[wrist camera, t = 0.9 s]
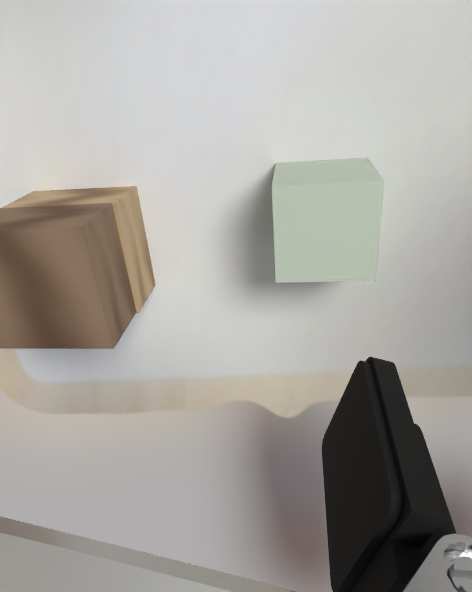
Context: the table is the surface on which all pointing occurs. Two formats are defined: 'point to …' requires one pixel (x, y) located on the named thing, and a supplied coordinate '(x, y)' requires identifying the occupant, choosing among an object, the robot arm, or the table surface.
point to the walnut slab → (62, 277)
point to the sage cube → (326, 220)
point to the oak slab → (127, 224)
